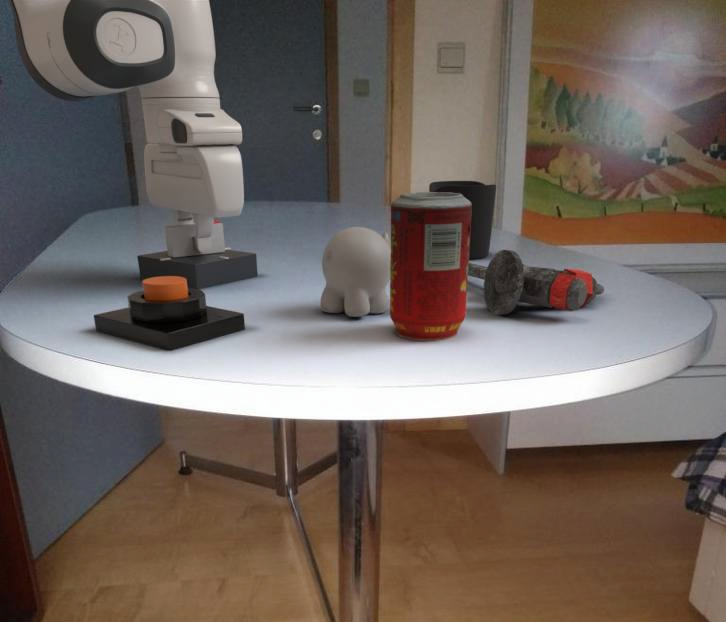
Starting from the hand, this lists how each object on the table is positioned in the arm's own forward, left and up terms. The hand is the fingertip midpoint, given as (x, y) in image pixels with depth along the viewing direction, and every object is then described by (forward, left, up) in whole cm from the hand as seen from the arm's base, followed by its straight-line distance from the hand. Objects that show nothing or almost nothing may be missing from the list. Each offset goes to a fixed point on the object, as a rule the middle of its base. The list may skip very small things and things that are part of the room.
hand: (197, 249), depth 91 cm
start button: (+18, -19, 0) cm, 26 cm away
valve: (+38, +15, -4) cm, 41 cm away
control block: (+18, -19, -4) cm, 26 cm away
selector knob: (0, 0, -1) cm, 1 cm away
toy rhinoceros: (+28, 0, -4) cm, 28 cm away
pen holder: (+18, +34, -4) cm, 39 cm away
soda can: (+38, -5, -4) cm, 39 cm away
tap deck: (0, 0, -4) cm, 4 cm away
